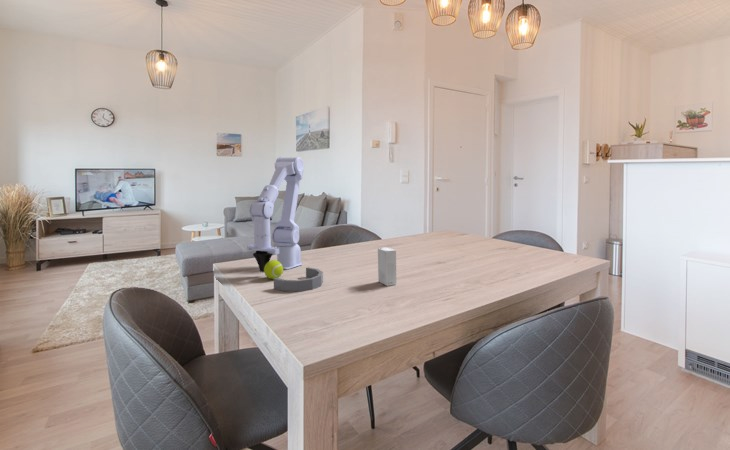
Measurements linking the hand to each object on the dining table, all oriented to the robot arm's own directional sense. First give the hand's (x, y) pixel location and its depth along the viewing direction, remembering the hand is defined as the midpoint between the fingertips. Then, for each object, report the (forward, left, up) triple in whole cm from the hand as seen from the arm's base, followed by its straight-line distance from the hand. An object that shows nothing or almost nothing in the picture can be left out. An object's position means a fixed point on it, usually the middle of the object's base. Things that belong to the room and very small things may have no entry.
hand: (263, 271), depth 137 cm
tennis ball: (0, +5, -2) cm, 6 cm away
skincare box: (-17, +42, -2) cm, 45 cm away
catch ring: (0, +19, -2) cm, 19 cm away
